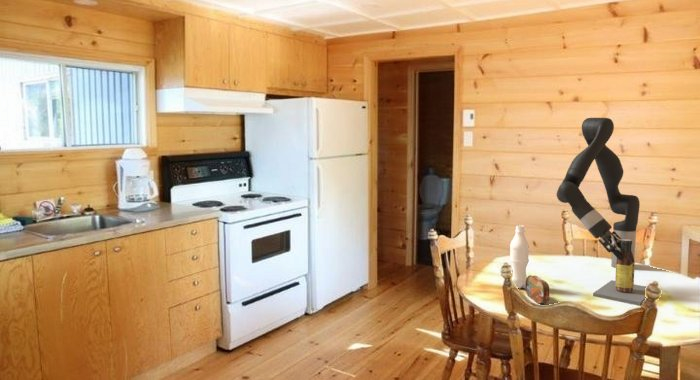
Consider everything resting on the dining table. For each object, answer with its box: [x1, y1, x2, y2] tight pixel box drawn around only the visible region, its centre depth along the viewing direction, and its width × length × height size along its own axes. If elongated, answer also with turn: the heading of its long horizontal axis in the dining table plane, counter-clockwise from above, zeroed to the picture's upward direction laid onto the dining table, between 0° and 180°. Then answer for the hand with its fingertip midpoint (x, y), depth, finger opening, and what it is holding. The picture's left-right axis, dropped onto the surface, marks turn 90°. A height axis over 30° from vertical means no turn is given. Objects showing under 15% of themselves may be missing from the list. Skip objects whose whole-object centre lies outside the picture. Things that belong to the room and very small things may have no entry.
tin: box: [525, 274, 551, 304], centre depth 190 cm, size 15×3×8 cm, turn 5°
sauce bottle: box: [614, 239, 636, 293], centre depth 196 cm, size 6×6×20 cm
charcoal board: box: [592, 280, 647, 307], centre depth 197 cm, size 22×16×1 cm
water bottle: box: [509, 224, 530, 290], centre depth 205 cm, size 7×7×25 cm
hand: (625, 256), depth 195 cm, fingers open, 8 cm apart
